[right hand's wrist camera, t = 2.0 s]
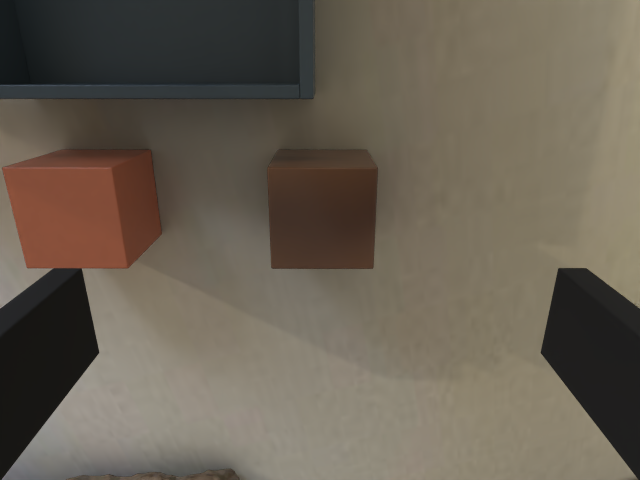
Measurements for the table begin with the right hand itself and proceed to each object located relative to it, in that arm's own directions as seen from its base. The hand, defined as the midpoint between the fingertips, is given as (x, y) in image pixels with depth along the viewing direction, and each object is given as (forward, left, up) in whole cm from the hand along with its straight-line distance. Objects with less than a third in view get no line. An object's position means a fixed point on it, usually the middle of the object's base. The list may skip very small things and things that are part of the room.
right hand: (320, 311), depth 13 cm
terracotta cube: (0, +12, -14) cm, 18 cm away
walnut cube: (0, 0, -14) cm, 14 cm away
